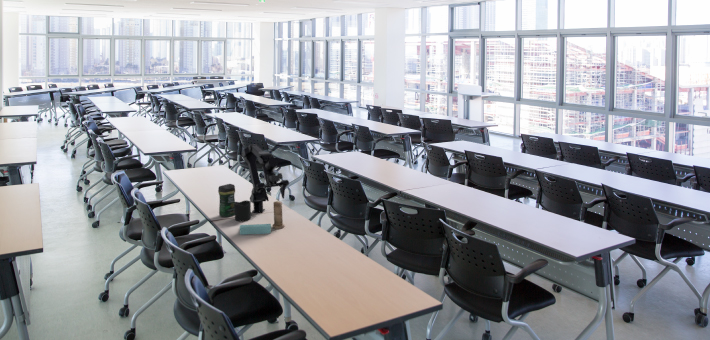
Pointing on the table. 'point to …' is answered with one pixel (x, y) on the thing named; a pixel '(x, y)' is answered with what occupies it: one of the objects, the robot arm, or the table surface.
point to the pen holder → (242, 210)
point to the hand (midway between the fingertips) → (275, 199)
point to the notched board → (255, 229)
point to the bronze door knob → (278, 215)
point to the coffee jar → (226, 200)
